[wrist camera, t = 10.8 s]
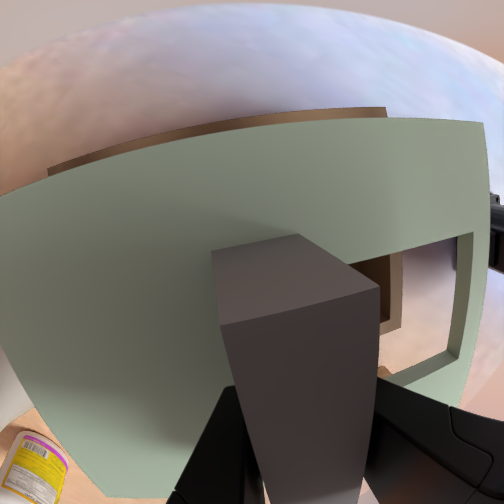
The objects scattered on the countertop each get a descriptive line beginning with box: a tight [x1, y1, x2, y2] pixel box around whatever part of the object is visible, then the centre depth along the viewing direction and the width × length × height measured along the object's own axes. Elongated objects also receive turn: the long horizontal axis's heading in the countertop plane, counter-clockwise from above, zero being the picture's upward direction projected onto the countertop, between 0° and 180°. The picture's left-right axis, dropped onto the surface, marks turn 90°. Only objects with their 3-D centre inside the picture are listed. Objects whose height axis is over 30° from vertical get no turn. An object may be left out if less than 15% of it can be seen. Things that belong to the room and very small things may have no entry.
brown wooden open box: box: [48, 107, 402, 335], centre depth 16 cm, size 16×12×6 cm
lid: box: [0, 118, 490, 504], centre depth 6 cm, size 16×12×4 cm
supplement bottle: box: [0, 431, 69, 504], centre depth 15 cm, size 7×7×13 cm
